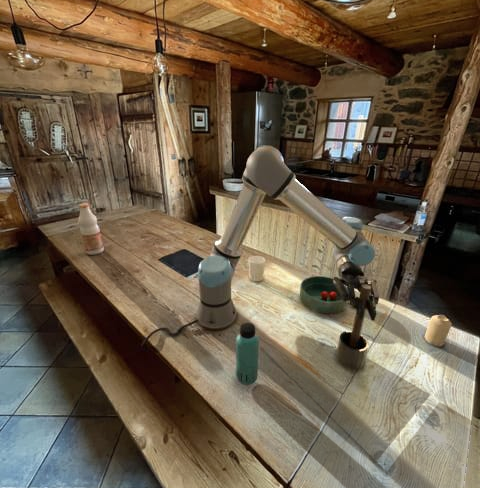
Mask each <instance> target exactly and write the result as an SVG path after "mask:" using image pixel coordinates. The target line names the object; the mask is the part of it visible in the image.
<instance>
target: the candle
mask: <svg viewBox="0 0 480 488" xmlns="http://www.w3.org/2000/svg"><path fill="white" fill-rule="evenodd" d="M452 325H453V324H452V322H451V320H450V319H448V318H447V316H445V315H444V314H438V315H437V314H435V315H433V316H431V318H430V321H429V324H428V326H427V329H426V332H425V334H424V340H425V341H426V342H427V343H428V344H429V345H432V346H435V347H443V346H444V344H445V342H446V339H447V337H448V336H449V332H450V330H451V327H452Z"/></svg>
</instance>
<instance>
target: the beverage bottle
mask: <svg viewBox="0 0 480 488" xmlns="http://www.w3.org/2000/svg"><path fill="white" fill-rule="evenodd" d="M239 328H240V329H239V333H238V334H237V336H236V338H235V344H236V345H235V376H236V380H237V381H238V382H239V383H240V385H243V386H251V385H253V384H255V383H256V381H257V380H258V377H259V376H258V374H259V343H260V338H259V336H258V335H257V334H256V326H255V325H254V324H253V323H252V322H243V323H242V324H240V327H239Z"/></svg>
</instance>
